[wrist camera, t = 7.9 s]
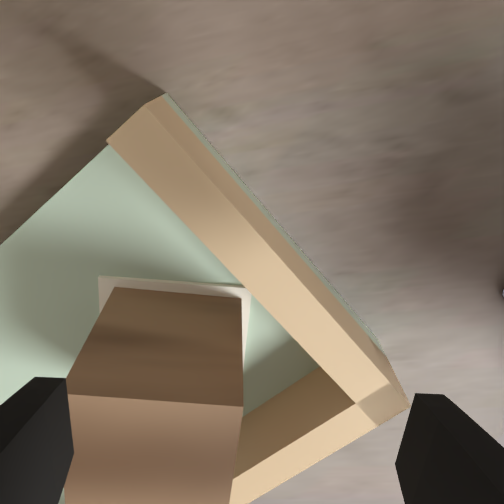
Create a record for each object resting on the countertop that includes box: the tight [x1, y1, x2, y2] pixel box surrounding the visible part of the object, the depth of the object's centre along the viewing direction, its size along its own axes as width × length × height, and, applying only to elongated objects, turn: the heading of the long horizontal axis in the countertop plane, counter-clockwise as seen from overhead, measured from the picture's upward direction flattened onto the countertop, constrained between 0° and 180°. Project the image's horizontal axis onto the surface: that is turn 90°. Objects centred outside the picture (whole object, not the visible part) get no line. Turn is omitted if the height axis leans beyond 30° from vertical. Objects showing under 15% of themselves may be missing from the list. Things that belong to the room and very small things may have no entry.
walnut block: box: [64, 287, 244, 504], centre depth 16 cm, size 5×5×6 cm
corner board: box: [0, 93, 411, 504], centre depth 18 cm, size 14×19×4 cm
